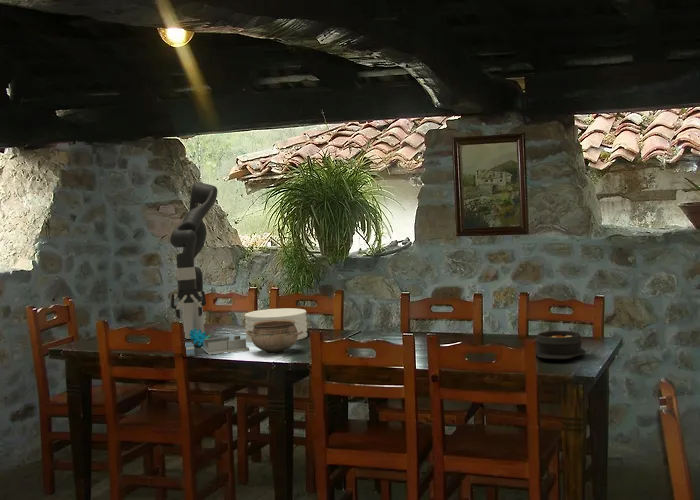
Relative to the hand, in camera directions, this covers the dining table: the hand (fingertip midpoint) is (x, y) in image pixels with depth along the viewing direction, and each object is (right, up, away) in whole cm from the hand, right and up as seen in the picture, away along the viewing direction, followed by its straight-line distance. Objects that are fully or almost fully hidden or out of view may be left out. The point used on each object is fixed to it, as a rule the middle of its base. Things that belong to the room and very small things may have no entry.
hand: (189, 317), depth 319 cm
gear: (+1, -15, +20) cm, 25 cm away
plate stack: (+33, -12, +34) cm, 49 cm away
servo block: (0, -16, -2) cm, 16 cm away
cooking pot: (+36, -14, -4) cm, 39 cm away
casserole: (+142, -11, -39) cm, 148 cm away
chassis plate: (+14, -14, +7) cm, 21 cm away
